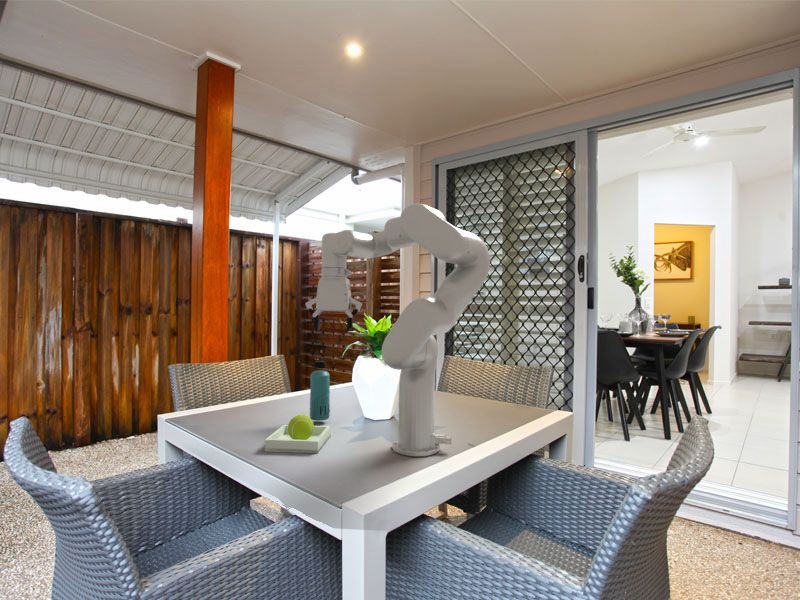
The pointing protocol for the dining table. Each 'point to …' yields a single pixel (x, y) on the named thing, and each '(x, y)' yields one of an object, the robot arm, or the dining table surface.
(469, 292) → the robot arm
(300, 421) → the tennis ball
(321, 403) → the beverage bottle
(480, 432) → the dining table surface
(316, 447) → the tray
